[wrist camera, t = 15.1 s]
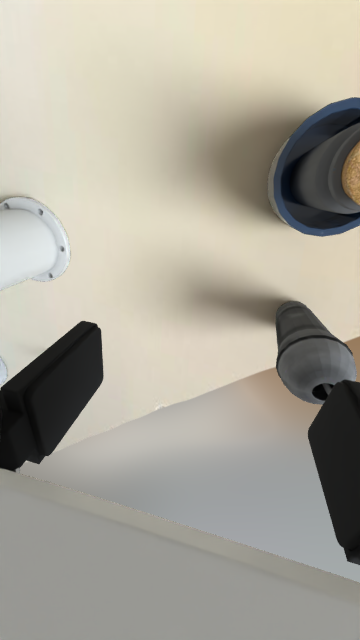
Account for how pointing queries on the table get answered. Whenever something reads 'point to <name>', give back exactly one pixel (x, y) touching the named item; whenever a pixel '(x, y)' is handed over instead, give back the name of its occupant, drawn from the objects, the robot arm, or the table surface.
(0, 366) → the utensil holder
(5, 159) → the table surface
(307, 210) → the desk pot
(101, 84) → the table surface
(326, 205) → the bottle
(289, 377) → the beverage cup
